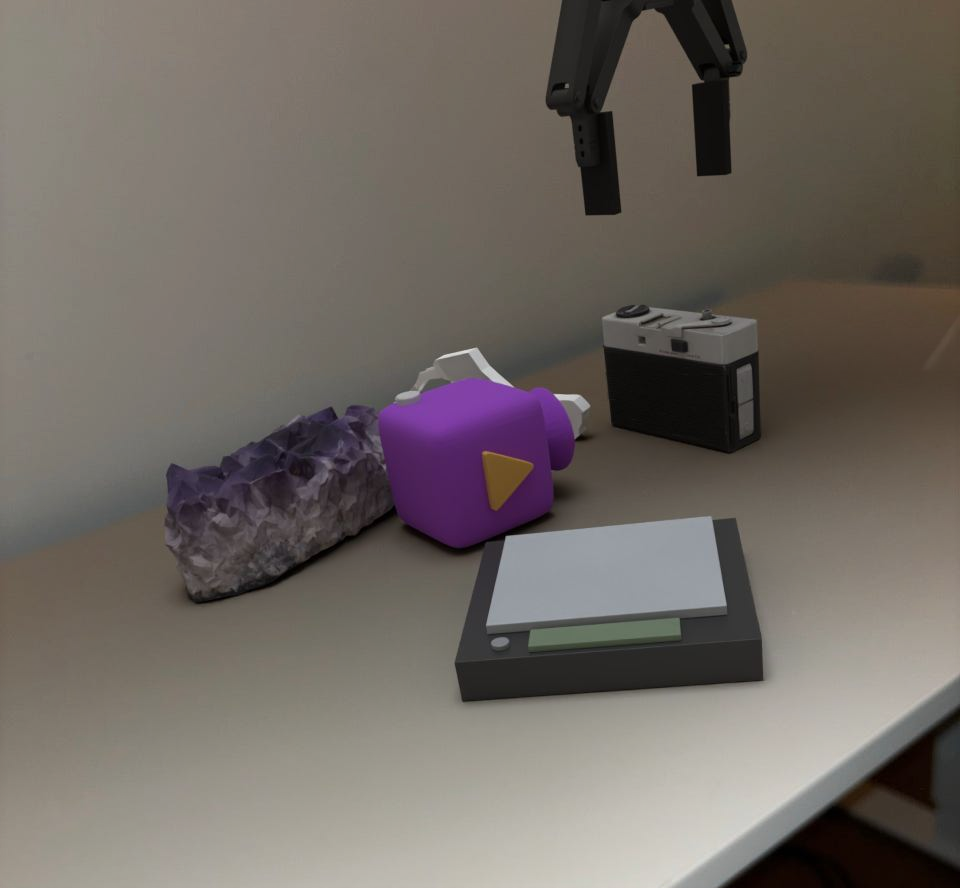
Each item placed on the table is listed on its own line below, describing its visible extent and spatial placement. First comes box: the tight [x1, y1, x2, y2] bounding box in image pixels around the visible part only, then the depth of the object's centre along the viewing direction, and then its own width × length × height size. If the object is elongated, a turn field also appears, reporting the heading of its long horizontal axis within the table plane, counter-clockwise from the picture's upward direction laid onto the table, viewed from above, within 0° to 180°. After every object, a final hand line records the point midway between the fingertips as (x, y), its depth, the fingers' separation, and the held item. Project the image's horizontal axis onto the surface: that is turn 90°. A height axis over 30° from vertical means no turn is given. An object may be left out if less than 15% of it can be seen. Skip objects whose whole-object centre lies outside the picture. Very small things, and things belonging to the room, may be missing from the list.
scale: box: [454, 515, 764, 702], centre depth 62 cm, size 16×15×3 cm
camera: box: [601, 304, 762, 454], centre depth 86 cm, size 14×9×10 cm, turn 30°
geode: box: [164, 404, 395, 603], centre depth 79 cm, size 20×12×10 cm, turn 146°
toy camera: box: [378, 378, 576, 549], centre depth 77 cm, size 11×14×10 cm
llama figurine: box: [393, 347, 591, 440], centre depth 94 cm, size 2×11×18 cm
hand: (661, 194), depth 79 cm, fingers open, 13 cm apart
